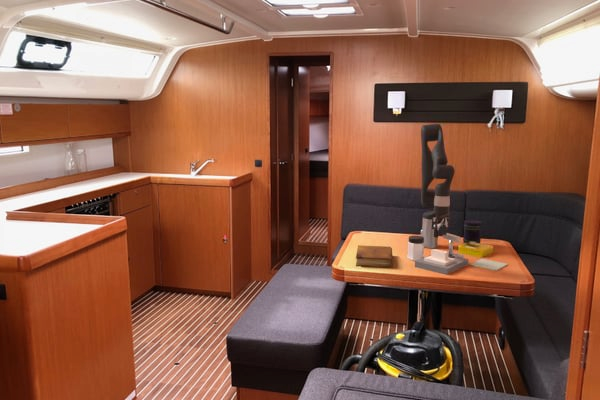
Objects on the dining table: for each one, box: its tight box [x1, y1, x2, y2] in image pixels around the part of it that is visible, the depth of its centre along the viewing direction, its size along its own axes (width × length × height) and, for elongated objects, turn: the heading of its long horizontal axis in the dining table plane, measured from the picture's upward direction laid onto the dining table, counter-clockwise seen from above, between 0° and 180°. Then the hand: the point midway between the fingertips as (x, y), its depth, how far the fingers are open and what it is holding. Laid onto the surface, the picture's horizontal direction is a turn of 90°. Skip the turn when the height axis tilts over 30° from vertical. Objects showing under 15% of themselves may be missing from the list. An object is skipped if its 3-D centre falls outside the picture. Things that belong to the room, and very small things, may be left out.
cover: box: [424, 248, 455, 266], centre depth 247 cm, size 12×10×6 cm
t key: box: [442, 232, 465, 258], centre depth 253 cm, size 2×14×11 cm, turn 26°
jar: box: [406, 235, 425, 262], centre depth 262 cm, size 9×8×12 cm
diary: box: [355, 244, 394, 269], centre depth 259 cm, size 23×19×6 cm
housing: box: [414, 254, 470, 276], centre depth 250 cm, size 18×23×3 cm
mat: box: [469, 258, 508, 272], centre depth 251 cm, size 14×14×1 cm
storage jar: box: [462, 219, 482, 244], centre depth 288 cm, size 10×10×15 cm
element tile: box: [457, 242, 494, 258], centre depth 275 cm, size 15×15×5 cm
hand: (440, 235), depth 245 cm, fingers open, 8 cm apart
